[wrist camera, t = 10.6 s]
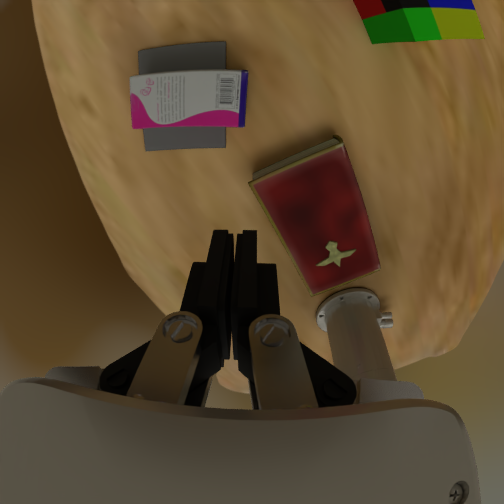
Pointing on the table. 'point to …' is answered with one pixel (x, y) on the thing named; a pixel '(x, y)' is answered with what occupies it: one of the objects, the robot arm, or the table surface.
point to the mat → (178, 60)
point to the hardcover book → (319, 215)
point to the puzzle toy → (419, 20)
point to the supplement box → (189, 98)
